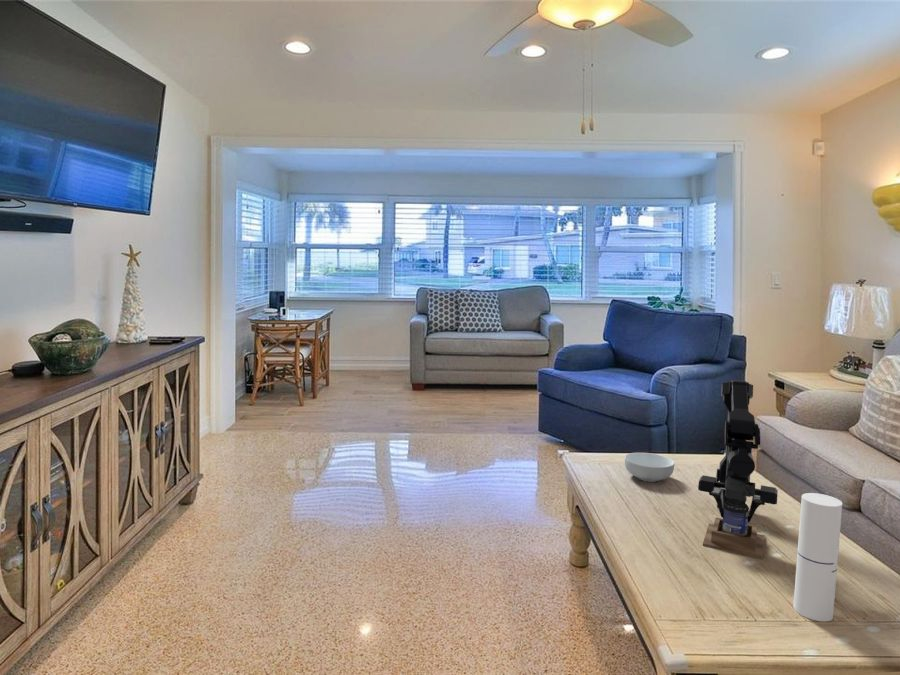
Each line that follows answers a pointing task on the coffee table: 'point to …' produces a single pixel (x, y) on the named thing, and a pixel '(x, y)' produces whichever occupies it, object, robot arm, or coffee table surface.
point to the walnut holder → (735, 540)
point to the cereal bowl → (649, 466)
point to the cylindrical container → (817, 556)
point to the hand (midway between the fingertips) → (735, 519)
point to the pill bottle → (735, 517)
